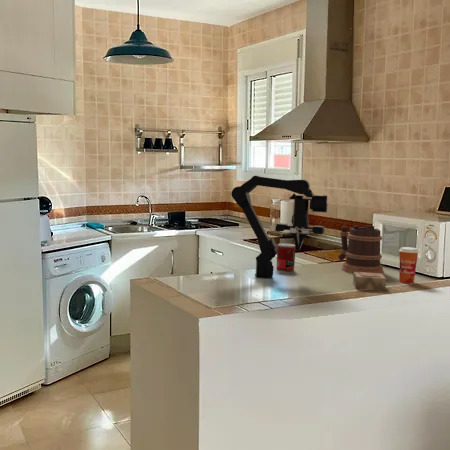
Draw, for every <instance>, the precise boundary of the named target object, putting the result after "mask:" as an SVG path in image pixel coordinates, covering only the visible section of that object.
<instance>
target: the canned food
mask: <svg viewBox="0 0 450 450" xmlns="http://www.w3.org/2000/svg"><path fill="white" fill-rule="evenodd" d="M277 245H278V247H277V249H278V252H277V254H276V264H275V265H276V267H275V268H276V270H277V271H281V270H284V271H283V272H292V270H293V271H294V269H295V263H296V261H295V259H296V244H294V243H284V242H283V243H278V244H277Z"/></svg>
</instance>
